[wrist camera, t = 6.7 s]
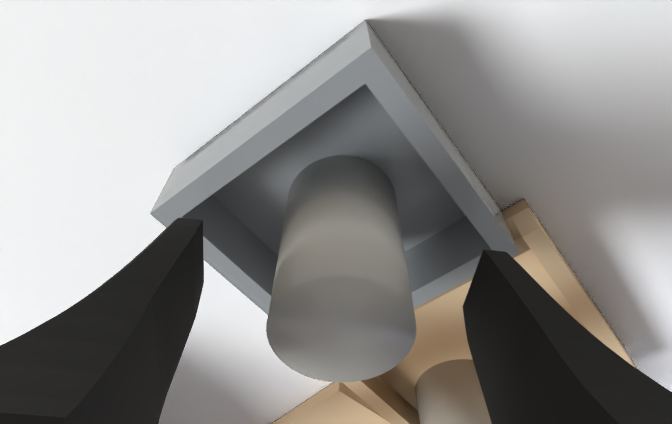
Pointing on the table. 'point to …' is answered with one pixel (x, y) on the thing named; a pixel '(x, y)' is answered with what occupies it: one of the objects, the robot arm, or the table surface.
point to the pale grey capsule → (341, 275)
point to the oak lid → (333, 409)
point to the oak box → (449, 327)
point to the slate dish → (332, 140)
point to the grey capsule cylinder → (451, 394)
